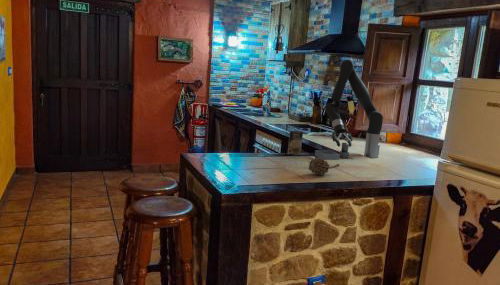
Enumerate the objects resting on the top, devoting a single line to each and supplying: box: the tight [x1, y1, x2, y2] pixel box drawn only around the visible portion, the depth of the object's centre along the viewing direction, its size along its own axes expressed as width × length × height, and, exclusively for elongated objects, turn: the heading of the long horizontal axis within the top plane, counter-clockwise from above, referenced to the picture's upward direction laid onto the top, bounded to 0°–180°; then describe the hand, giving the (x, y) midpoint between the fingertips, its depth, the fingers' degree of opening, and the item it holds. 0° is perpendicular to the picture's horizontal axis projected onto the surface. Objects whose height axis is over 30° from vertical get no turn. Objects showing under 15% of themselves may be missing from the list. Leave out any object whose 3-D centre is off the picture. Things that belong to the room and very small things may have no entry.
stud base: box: [339, 156, 354, 160], centre depth 285 cm, size 11×11×5 cm
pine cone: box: [307, 157, 340, 175], centre depth 238 cm, size 22×10×10 cm, turn 124°
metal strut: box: [339, 142, 350, 158], centre depth 284 cm, size 4×4×10 cm
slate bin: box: [314, 149, 340, 162], centre depth 281 cm, size 12×13×5 cm
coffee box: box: [287, 130, 304, 156], centre depth 290 cm, size 9×6×16 cm
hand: (344, 146), depth 284 cm, fingers open, 8 cm apart
